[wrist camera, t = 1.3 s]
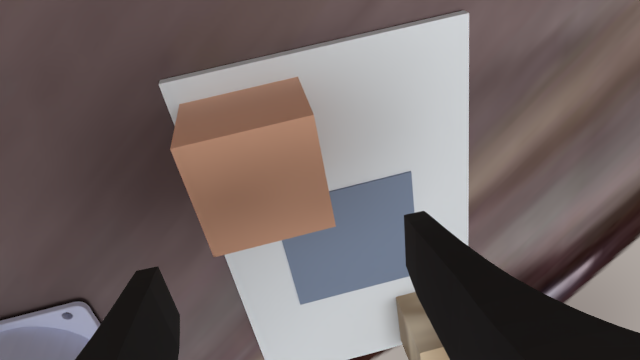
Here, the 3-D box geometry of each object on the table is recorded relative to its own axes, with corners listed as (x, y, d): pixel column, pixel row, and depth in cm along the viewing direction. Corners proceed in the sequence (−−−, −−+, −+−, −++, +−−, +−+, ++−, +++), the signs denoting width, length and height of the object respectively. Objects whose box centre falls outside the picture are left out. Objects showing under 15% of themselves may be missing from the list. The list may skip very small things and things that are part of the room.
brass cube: (400, 340, 29) (423, 397, 26) (395, 297, 27) (419, 353, 24) (460, 323, 30) (491, 378, 26) (460, 279, 28) (493, 333, 24)
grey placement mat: (271, 373, 30) (272, 381, 29) (159, 79, 19) (158, 85, 18) (464, 321, 30) (468, 328, 30) (463, 10, 20) (470, 13, 19)
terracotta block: (215, 201, 22) (213, 257, 18) (179, 104, 19) (170, 149, 16) (318, 176, 22) (335, 226, 19) (297, 76, 19) (313, 114, 16)
